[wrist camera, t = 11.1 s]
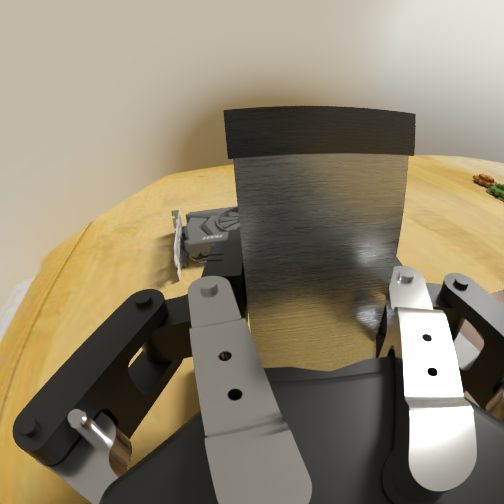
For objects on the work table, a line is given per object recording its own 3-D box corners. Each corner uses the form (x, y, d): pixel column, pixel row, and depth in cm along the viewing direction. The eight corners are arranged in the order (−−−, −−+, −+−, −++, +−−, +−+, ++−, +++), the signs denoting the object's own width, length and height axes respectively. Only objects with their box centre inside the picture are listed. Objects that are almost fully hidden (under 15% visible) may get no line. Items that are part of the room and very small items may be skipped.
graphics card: (161, 256, 25) (171, 207, 35) (170, 289, 27) (175, 233, 37) (338, 232, 27) (299, 192, 37) (335, 264, 29) (298, 218, 39)
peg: (327, 372, 15) (349, 107, 9) (343, 432, 12) (415, 113, 5) (256, 381, 15) (229, 109, 9) (261, 444, 12) (223, 110, 5)
